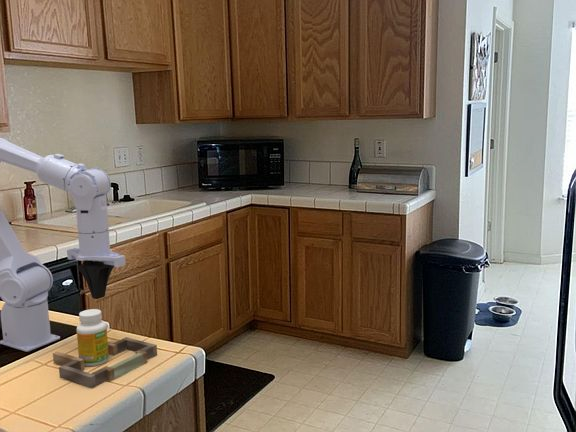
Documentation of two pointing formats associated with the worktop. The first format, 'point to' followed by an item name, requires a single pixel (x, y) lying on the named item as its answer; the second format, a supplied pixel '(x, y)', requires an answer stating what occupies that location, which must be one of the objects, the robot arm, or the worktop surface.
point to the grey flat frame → (75, 365)
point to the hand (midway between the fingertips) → (98, 297)
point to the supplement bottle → (92, 338)
